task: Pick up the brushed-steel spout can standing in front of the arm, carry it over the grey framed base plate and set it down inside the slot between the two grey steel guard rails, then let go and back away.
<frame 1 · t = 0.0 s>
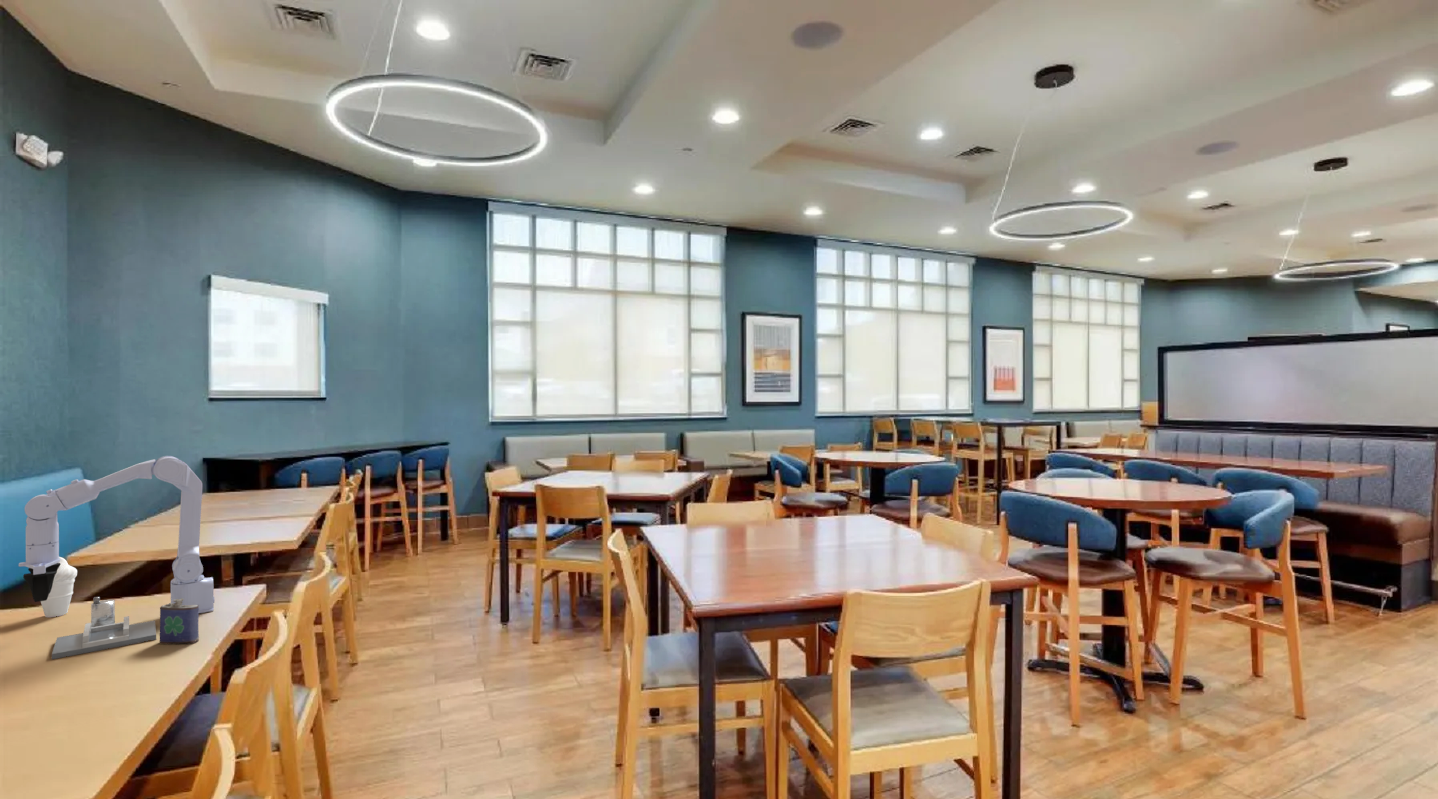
hand: (42, 597, 160), 10 cm above the table, tool pointing down, fingers open, 7 cm apart
soft serve ice cream cone: (56, 615, 177), on the table
spout can: (103, 629, 166), on the table
grey framed base plate: (107, 640, 158), on the table
flask: (178, 643, 157), on the table
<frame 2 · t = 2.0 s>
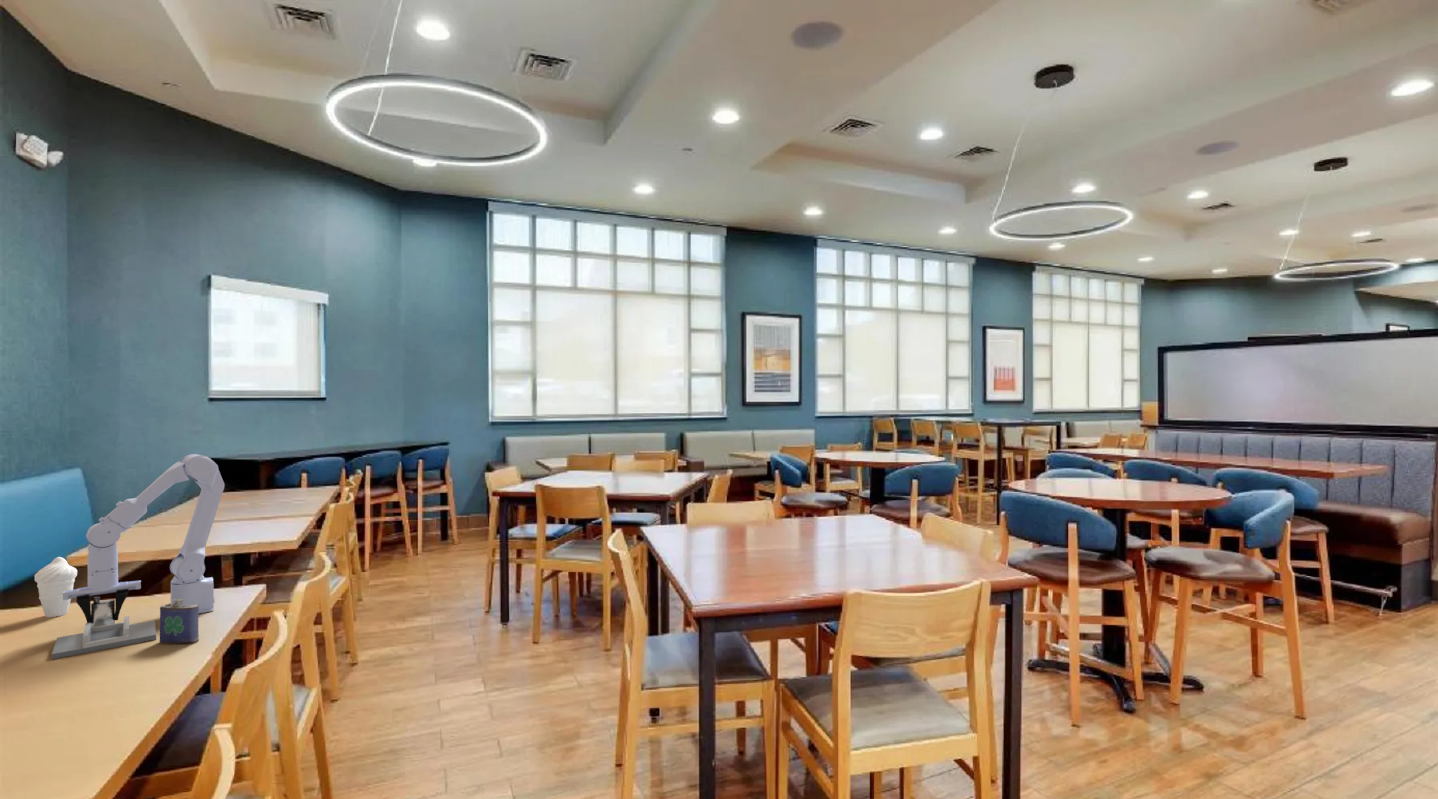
hand: (103, 621, 166), 2 cm above the table, tool pointing down, fingers closed on spout can, 4 cm apart
spout can: (103, 629, 166), on the table, touching gripper
everything else where it was.
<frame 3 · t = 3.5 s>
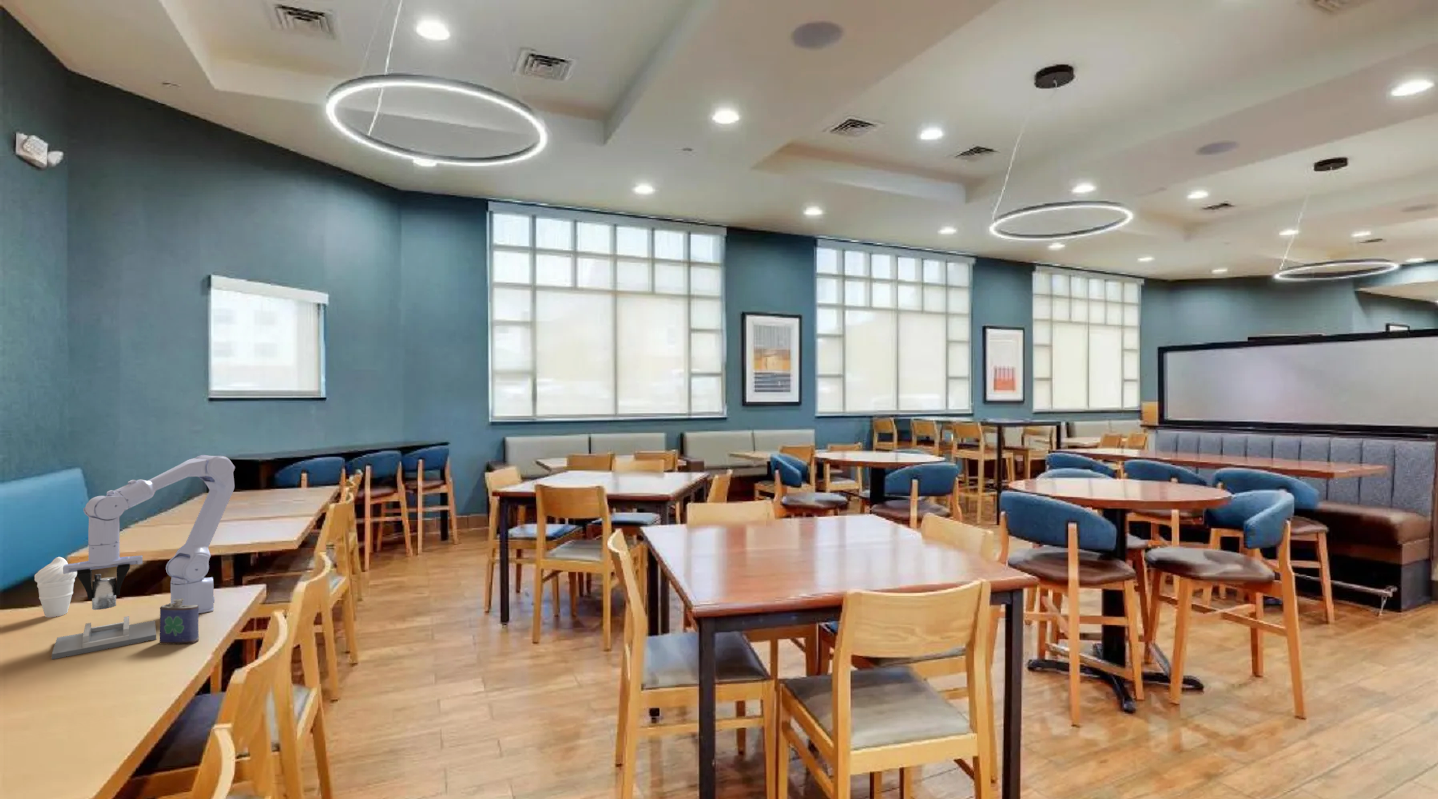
hand: (104, 596, 163), 9 cm above the table, tool pointing down, fingers closed on spout can, 4 cm apart
spout can: (104, 607, 163), point 7 cm above the table, touching gripper
everything else where it was.
when the fingers open (4 cm above the table, at t = 5.4 s): spout can stays where it is, resting on grey framed base plate.
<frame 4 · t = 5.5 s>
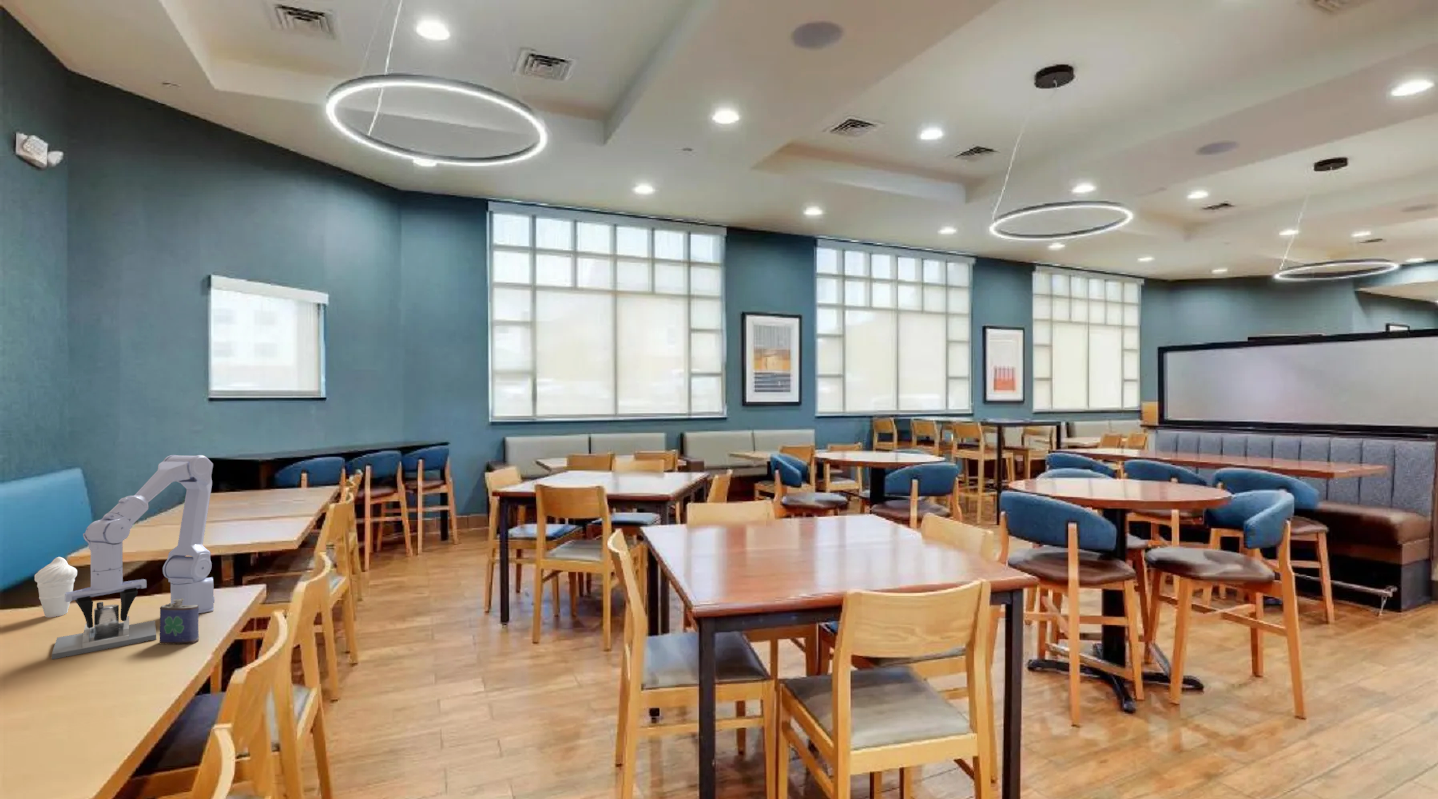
hand: (106, 623, 158), 4 cm above the table, tool pointing down, fingers open, 5 cm apart
spout can: (106, 635, 158), point 1 cm above the table, touching grey framed base plate
everything else where it was.
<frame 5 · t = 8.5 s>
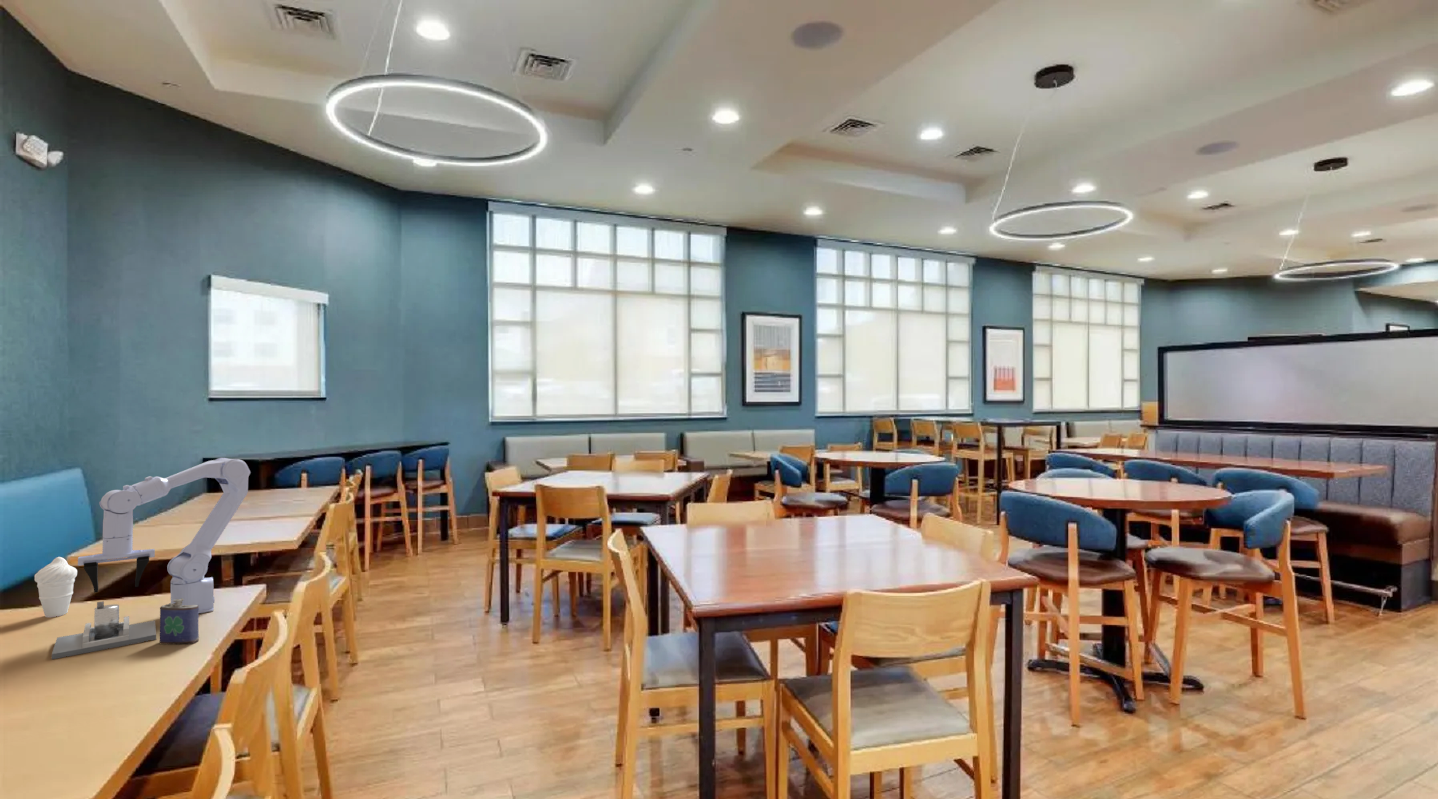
hand: (116, 588, 166), 10 cm above the table, tool pointing down, fingers open, 7 cm apart
nothing on the table moved.
at the end: spout can inside the target area on the grey framed base plate (0.5 cm from its centre), point 1.2 cm above the grey framed base plate's base; spout can tilted 1°; the gripper is holding nothing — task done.
